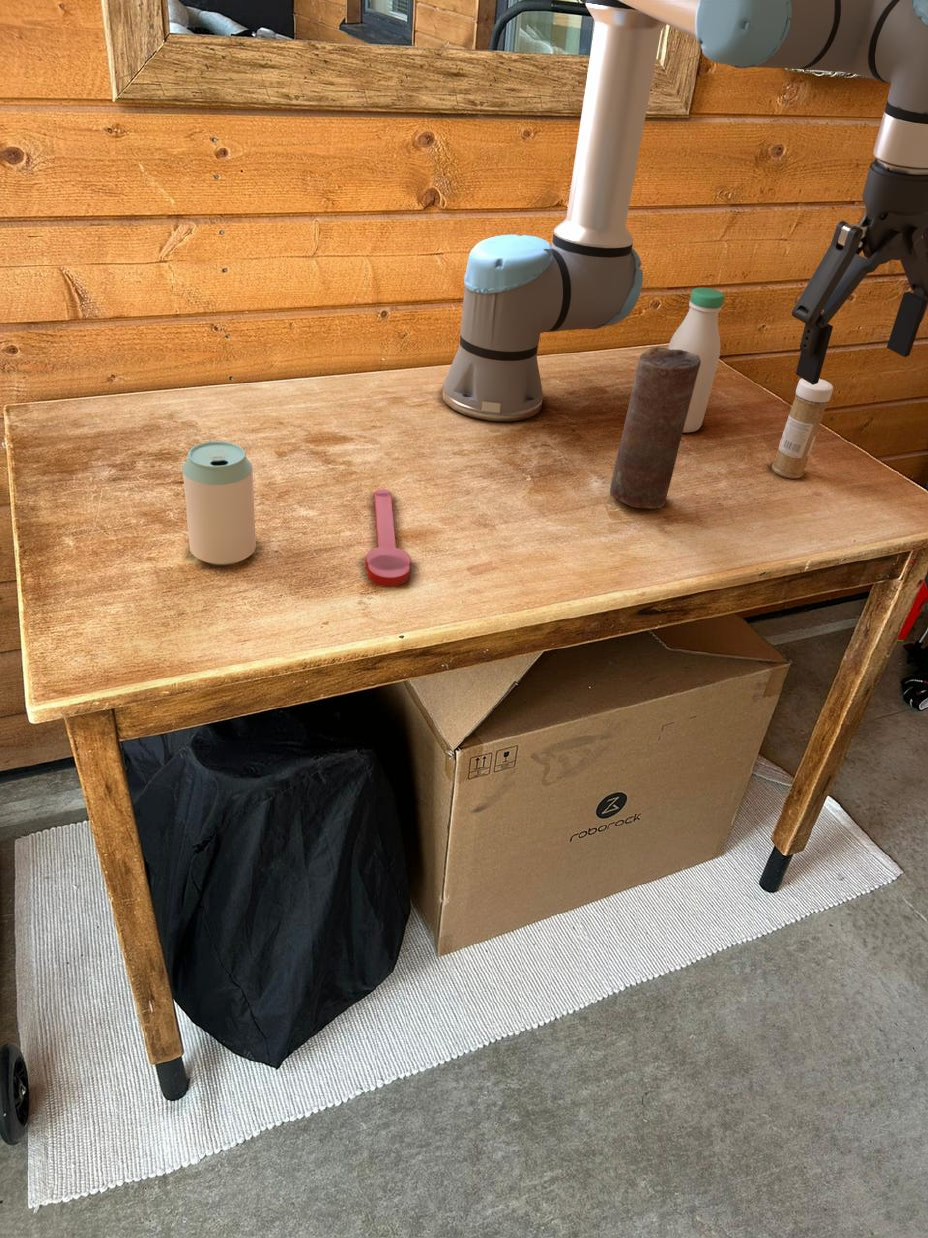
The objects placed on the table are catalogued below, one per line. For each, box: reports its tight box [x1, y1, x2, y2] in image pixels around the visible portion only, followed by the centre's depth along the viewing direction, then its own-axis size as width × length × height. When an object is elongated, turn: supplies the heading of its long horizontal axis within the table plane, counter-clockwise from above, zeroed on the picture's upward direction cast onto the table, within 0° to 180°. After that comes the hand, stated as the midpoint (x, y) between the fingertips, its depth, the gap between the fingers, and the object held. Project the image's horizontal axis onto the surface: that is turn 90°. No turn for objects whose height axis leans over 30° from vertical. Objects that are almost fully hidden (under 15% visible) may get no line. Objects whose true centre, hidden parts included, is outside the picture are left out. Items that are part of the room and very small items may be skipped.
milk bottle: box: [667, 287, 725, 433], centre depth 137 cm, size 8×8×20 cm
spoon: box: [364, 488, 412, 588], centre depth 108 cm, size 20×5×1 cm, turn 6°
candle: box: [609, 346, 701, 510], centre depth 115 cm, size 8×7×20 cm
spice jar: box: [771, 378, 834, 479], centre depth 129 cm, size 5×5×13 cm
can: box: [182, 440, 257, 566], centre depth 99 cm, size 7×7×12 cm
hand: (853, 365), depth 105 cm, fingers open, 13 cm apart
